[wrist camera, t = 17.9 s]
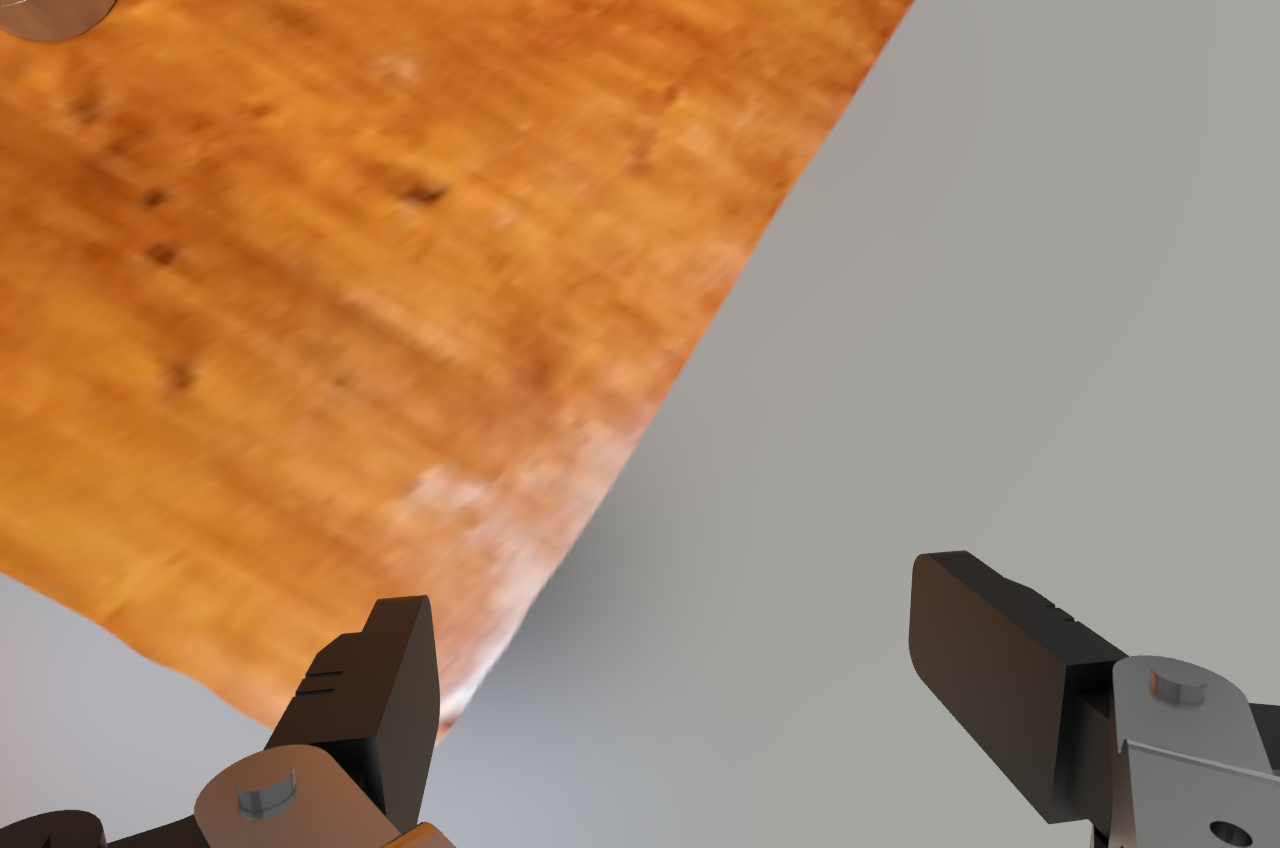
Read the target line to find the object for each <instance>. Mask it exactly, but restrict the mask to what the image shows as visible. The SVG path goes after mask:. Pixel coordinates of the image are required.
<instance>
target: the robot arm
mask: <svg viewBox="0 0 1280 848" xmlns="http://www.w3.org/2000/svg"><path fill="white" fill-rule="evenodd" d="M114 2H115V0H0V29H2V30H4V31H6V32H7V33H9V34H11V35H14V36H17V37H20V38H23V39H26V40H33V41H42V42H49V41H60V40H65V39H68V38H71V37H74V36H77V35H80V34H81V33H83V32H85V31H86V30H88V29H90V28H92V27H93V26H94V25H95V24H97V23H98V22H99V21H100V20H101V19H102V18H103V17H104V16H105V15H106V14H107V12H108V11H109V9H110V8H111V6H112V5H113V4H114ZM912 574H913V575H912V590H911V608H910V626H909V650H910V655H911V659H912V663H913V665H914V668H915V670H916V672H917V674H918V675H919V677H920V678H921V680H922V681H923V682H924V683H925V684H926V685H927V687H928V688H929V689H930V690H931V691H932V692H933V693H934V694H935V696H936V697H937V698H938V699H939V700H940V701H941V702H942V704H943V705H944V706H945V707H946V708H947V709H948V710H949V712H950V713H951V714H952V715H953V716H954V717H955V718H956V720H957V721H958V722H959V723H960V724H961V725H962V726H963V727H964V729H965V730H966V731H967V732H968V733H969V734H970V735H971V737H972V738H973V739H974V740H975V741H976V742H977V743H978V745H979V746H980V747H981V748H982V749H983V750H984V751H985V752H986V754H987V755H988V756H989V757H990V758H991V759H992V760H993V762H994V763H995V764H996V765H997V766H998V767H999V768H1000V770H1001V771H1002V772H1003V773H1004V774H1005V775H1006V776H1007V777H1008V779H1009V780H1010V781H1011V782H1012V783H1013V784H1014V785H1015V787H1016V788H1017V789H1018V790H1019V791H1020V792H1021V793H1022V795H1023V796H1024V797H1025V798H1026V799H1027V800H1028V801H1029V803H1030V804H1031V805H1032V806H1033V807H1034V808H1035V809H1036V811H1037V812H1038V813H1039V814H1040V815H1041V816H1042V817H1043V818H1044V820H1045V821H1046V822H1047V823H1048V824H1054V823H1061V822H1069V821H1077V820H1084V819H1089V820H1090V821H1091V822H1092V824H1093V825H1092V833H1091V840H1090V848H1280V706H1276V705H1265V704H1253V703H1248V701H1247V699H1246V697H1245V695H1244V694H1243V693H1242V691H1241V690H1240V689H1239V688H1238V687H1236V686H1235V685H1234V684H1233V683H1231V682H1230V681H1228V680H1227V679H1225V678H1223V677H1222V676H1220V675H1218V674H1216V673H1214V672H1212V671H1209V670H1207V669H1205V668H1202V667H1200V666H1197V665H1194V664H1191V663H1188V662H1184V661H1180V660H1176V659H1172V658H1166V657H1159V656H1131V657H1129V656H1128V655H1126V654H1125V653H1124V652H1122V651H1121V650H1119V649H1118V648H1117V647H1115V646H1114V645H1112V644H1111V643H1109V642H1108V641H1106V640H1105V639H1104V638H1102V637H1101V636H1099V635H1098V634H1096V633H1095V632H1093V631H1092V630H1091V629H1089V628H1087V627H1086V626H1085V625H1083V624H1082V623H1080V622H1079V621H1077V622H1075V621H1074V618H1073V617H1072V616H1070V615H1069V614H1068V613H1066V612H1065V611H1063V610H1062V609H1060V608H1055V604H1053V603H1052V602H1050V601H1049V600H1047V599H1046V598H1044V597H1043V596H1042V595H1040V594H1039V593H1037V592H1036V591H1034V590H1033V589H1031V588H1029V587H1026V586H1024V585H1021V584H1019V583H1016V582H1014V581H1011V580H1009V579H1007V578H1004V577H1003V576H1001V575H1000V574H999V573H997V572H996V571H994V570H993V569H991V568H990V567H988V566H987V565H986V564H984V563H983V562H982V561H980V560H979V559H977V558H976V557H975V556H973V555H972V554H970V553H969V552H967V551H964V550H963V551H951V552H939V553H927V554H921V555H919V556H918V557H917V558H916V560H915V562H914V566H913V573H912ZM295 693H296V695H295V697H293V698H292V700H291V701H290V703H289V705H288V707H287V709H286V710H285V712H284V714H283V716H282V717H281V719H280V721H279V723H278V725H277V726H276V728H275V730H274V732H273V734H272V736H271V737H270V739H269V741H268V743H267V744H266V746H265V748H264V750H263V751H260V752H257V753H255V754H252V755H250V756H248V757H245V758H243V759H241V760H239V761H237V762H235V763H234V764H232V765H231V766H229V767H227V768H226V769H224V770H223V771H222V772H220V773H219V774H218V775H217V776H215V777H214V778H213V779H212V780H211V781H210V782H209V783H208V784H207V785H206V786H205V788H204V789H203V790H202V791H201V793H200V795H199V796H198V798H197V800H196V803H195V806H194V814H193V815H191V816H188V817H186V818H184V819H181V820H179V821H176V822H173V823H170V824H168V825H164V826H161V827H158V828H155V829H152V830H148V831H145V832H143V833H139V834H136V835H133V836H129V837H126V838H123V839H120V840H117V841H114V842H111V843H106V838H105V834H104V830H103V826H102V824H101V821H100V819H99V818H97V817H96V816H95V815H93V814H91V813H89V812H85V811H80V810H62V811H54V812H49V813H44V814H40V815H36V816H33V817H30V818H26V819H23V820H21V821H18V822H15V823H12V824H10V825H8V826H6V827H4V828H1V829H0V848H456V847H455V846H454V845H453V844H452V843H451V842H450V841H449V840H448V839H447V838H446V837H445V836H444V835H443V833H442V832H440V831H439V830H438V829H437V828H436V827H435V826H434V825H432V824H430V823H428V822H421V823H420V824H418V825H417V821H418V816H419V812H420V807H421V803H422V798H423V793H424V789H425V785H426V780H427V776H428V771H429V766H430V762H431V757H432V753H433V748H434V744H435V739H436V735H437V730H438V725H439V715H440V689H439V678H438V668H437V659H436V650H435V640H434V631H433V622H432V613H431V606H430V601H429V598H428V596H427V595H421V596H409V597H397V598H385V599H378V600H377V601H376V603H375V605H374V607H373V609H372V611H371V613H370V616H369V618H368V620H367V622H366V624H365V626H364V628H363V630H362V632H358V633H347V634H341V635H340V636H339V637H337V638H336V639H335V640H334V641H332V642H331V643H330V644H329V645H327V646H326V647H325V648H323V649H322V650H321V651H320V652H318V653H317V655H316V657H315V658H314V660H313V662H312V664H311V666H310V667H309V669H308V671H307V673H306V677H305V679H303V680H302V682H301V683H300V685H299V687H298V689H297V691H296V692H295Z"/></svg>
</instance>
